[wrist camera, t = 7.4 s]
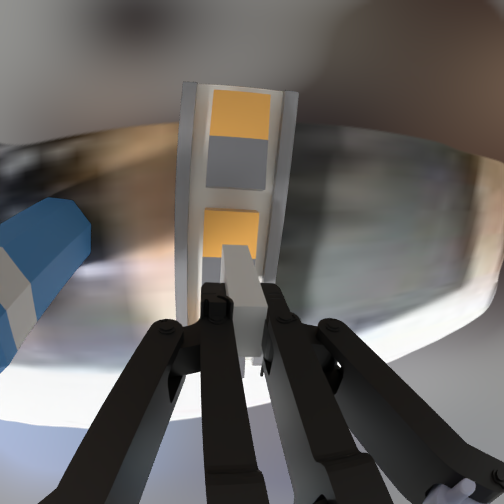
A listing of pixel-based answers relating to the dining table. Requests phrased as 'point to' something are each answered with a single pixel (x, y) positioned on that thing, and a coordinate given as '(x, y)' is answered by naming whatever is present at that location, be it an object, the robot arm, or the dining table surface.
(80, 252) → the water bottle
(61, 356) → the dining table surface
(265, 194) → the power strip
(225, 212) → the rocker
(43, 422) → the dining table surface
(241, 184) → the rocker
